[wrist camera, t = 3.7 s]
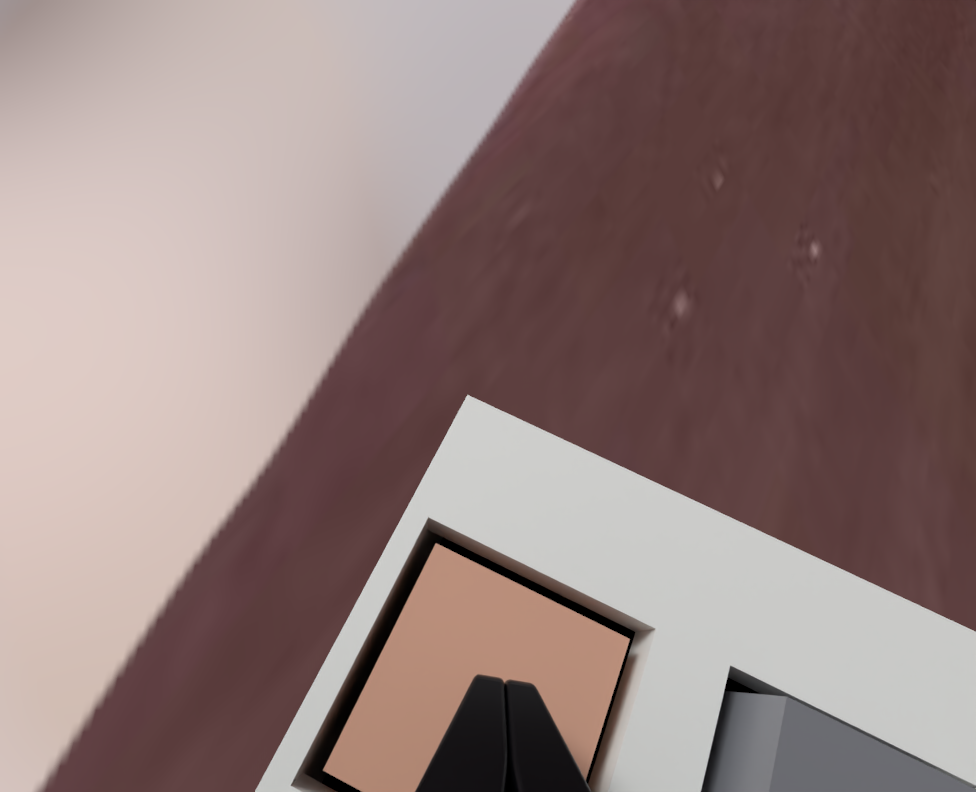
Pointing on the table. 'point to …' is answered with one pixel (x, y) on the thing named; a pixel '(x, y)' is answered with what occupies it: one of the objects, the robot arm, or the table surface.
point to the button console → (655, 613)
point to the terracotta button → (472, 671)
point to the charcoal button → (806, 753)
